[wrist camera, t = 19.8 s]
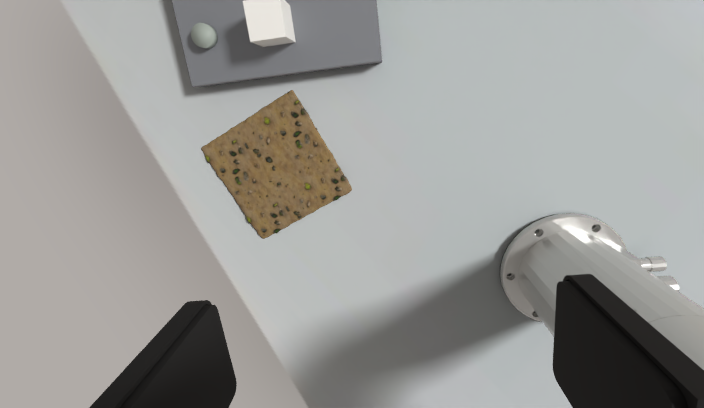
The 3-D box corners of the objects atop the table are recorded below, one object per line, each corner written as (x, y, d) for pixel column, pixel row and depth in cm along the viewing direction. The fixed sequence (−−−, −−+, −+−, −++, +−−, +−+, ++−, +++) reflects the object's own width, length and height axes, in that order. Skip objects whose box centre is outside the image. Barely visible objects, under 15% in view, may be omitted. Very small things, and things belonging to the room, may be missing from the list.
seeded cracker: (293, 86, 36) (291, 86, 35) (354, 189, 39) (354, 191, 38) (200, 146, 38) (195, 148, 37) (264, 239, 41) (261, 242, 40)
